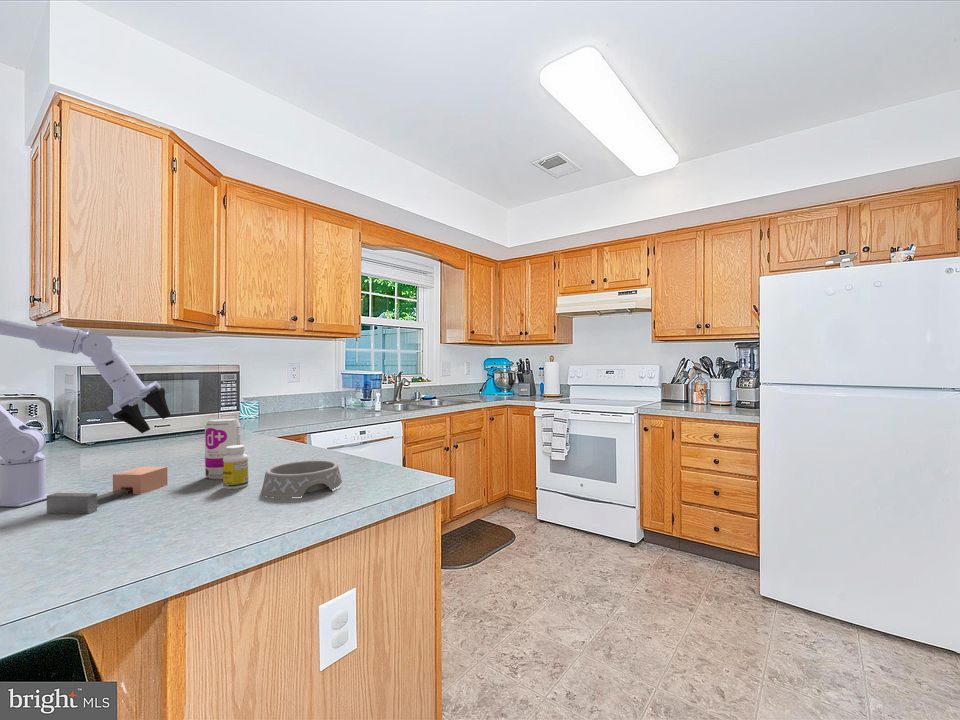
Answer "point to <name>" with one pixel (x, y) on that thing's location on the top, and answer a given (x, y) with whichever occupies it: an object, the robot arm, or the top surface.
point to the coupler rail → (79, 501)
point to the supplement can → (219, 444)
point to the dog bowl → (300, 478)
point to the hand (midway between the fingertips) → (156, 424)
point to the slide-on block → (140, 479)
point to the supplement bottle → (235, 467)
